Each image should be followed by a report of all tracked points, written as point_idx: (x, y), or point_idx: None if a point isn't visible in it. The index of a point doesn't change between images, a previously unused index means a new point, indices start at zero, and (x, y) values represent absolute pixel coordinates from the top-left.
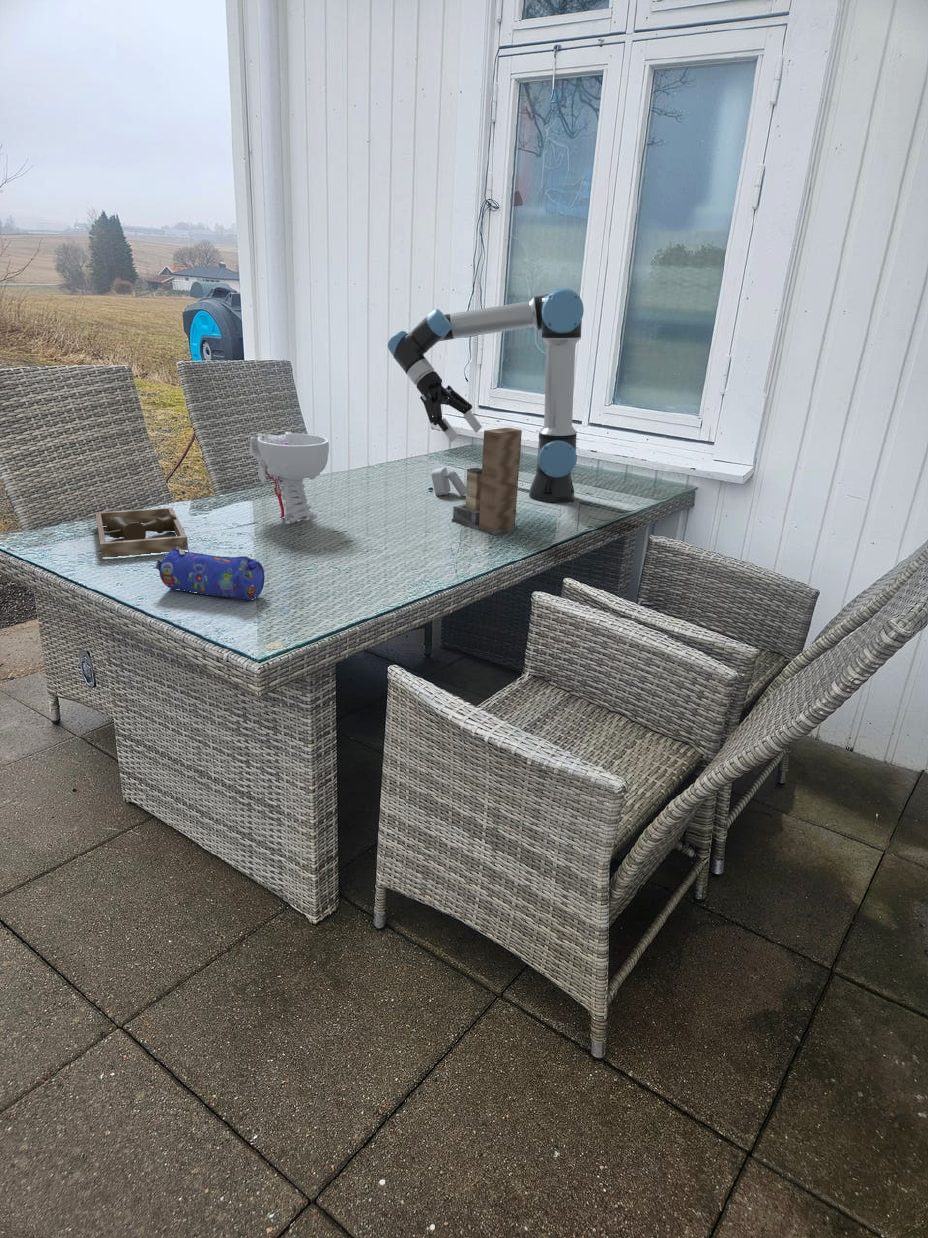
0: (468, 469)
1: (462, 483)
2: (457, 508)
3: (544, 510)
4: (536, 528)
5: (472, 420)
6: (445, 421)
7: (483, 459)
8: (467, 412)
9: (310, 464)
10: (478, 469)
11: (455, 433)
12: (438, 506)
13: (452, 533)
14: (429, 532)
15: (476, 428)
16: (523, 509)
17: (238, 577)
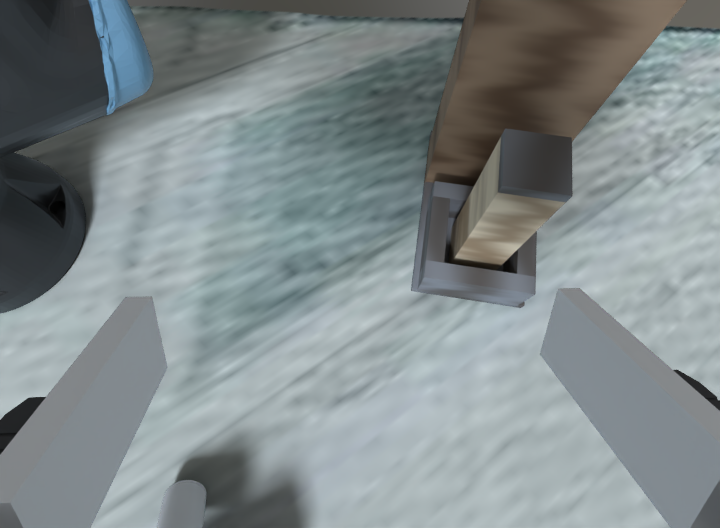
0: (571, 188)
1: (175, 517)
2: (534, 275)
3: (193, 173)
4: (388, 104)
5: (111, 403)
6: (717, 414)
7: (669, 16)
8: (35, 513)
9: None
10: (532, 155)
11: (585, 301)
12: (403, 470)
13: (612, 232)
14: (663, 284)
15: (154, 353)
16: (225, 224)
17: None
